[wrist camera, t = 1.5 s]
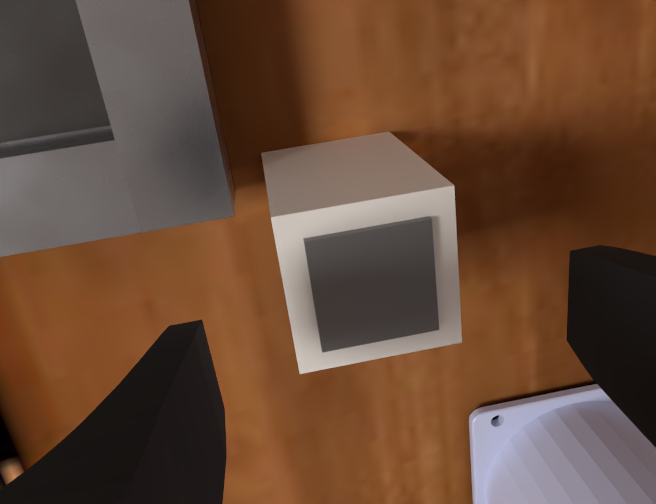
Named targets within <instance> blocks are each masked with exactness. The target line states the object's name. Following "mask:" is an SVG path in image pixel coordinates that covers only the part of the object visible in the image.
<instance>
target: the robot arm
mask: <svg viewBox="0 0 656 504" xmlns="http://www.w3.org/2000/svg"><path fill="white" fill-rule="evenodd" d="M567 341H568V343H569V344H570V346H571V348H572V349H573V351H574V352H575V354H576V355H577V357H578V358H579V360H580V361H581V363H582V364H583V366H584V367H585V369H586V370H587V371H588V373H589V374H590V376H591V377H592V378H593V380H594V381H595V382H596V383H597V384H593V385H588V386H583V387H578V388H573V389H569V390H564V391H559V392H554V393H549V394H544V395H539V396H534V397H529V398H525V399H520V400H515V401H510V402H505V403H500V404H495V405H490V406H485V407H481V408H478V409H476V410H475V411H473V412H472V414H471V415H470V418H469V431H470V453H471V474H472V495H473V504H656V256H652V255H648V254H644V253H640V252H635V251H631V250H626V249H621V248H616V247H610V246H601V245H599V246H594V247H588V248H583V249H578V250H572V251H570V263H569V291H568V319H567ZM497 415H499V417H498V418H497V419H495V420H492V419H493V417H495V416H497ZM225 467H226V430H225V409H224V405H223V401H222V397H221V393H220V389H219V385H218V381H217V377H216V373H215V369H214V365H213V361H212V357H211V353H210V350H209V346H208V342H207V338H206V334H205V330H204V326H203V322H202V320H198V321H193V322H187V323H182V324H177V325H171V326H169V327H168V328H167V329H166V330H165V331H164V332H163V333H162V334H161V335H160V337H159V338H158V339H157V340H156V341H155V343H154V344H153V345H152V346H151V347H150V349H149V350H148V351H147V352H146V353H145V355H144V356H143V357H142V358H141V359H140V361H139V362H138V363H137V364H136V365H135V366H134V367H133V369H132V370H131V371H130V372H129V373H128V374H127V376H126V377H125V378H124V379H123V380H122V381H121V382H120V384H119V385H118V386H117V387H116V388H115V389H114V390H113V391H112V392H111V393H110V394H109V395H108V396H107V397H106V398H105V399H104V400H103V401H102V402H101V403H100V404H99V405H98V406H97V408H96V409H95V410H94V411H93V412H92V413H91V414H90V415H89V416H88V417H87V418H86V419H85V420H84V421H83V422H82V423H81V424H80V425H79V426H78V427H77V428H76V429H74V430H73V431H72V432H71V433H70V434H69V435H68V436H67V437H66V438H65V439H63V440H62V441H61V442H60V443H59V444H58V445H57V446H55V447H54V448H53V449H52V450H51V451H49V452H48V453H47V454H46V455H45V456H44V457H42V458H41V459H40V460H39V461H38V462H36V463H35V464H34V465H33V466H31V467H30V468H29V469H28V470H26V471H25V472H24V473H22V474H21V475H20V476H18V477H17V478H16V479H14V480H13V481H12V482H10V483H9V484H7V485H6V486H5V487H3V488H2V489H1V490H0V504H222V501H223V490H224V479H225Z"/></svg>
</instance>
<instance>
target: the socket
mask: <svg viewBox="0 0 656 504" xmlns="http://www.w3.org/2000/svg"><path fill="white" fill-rule="evenodd" d="M234 204H235V188H234V184H233V179H232V174H231V169H230V164H229V159H228V155H227V150H226V145H225V140H224V135H223V130H222V126H221V121H220V116H219V111H218V106H217V101H216V96H215V92H214V87H213V82H212V77H211V72H210V67H209V63H208V58H207V53H206V48H205V43H204V38H203V34H202V29H201V24H200V19H199V14H198V9H197V5H196V0H0V257H2V256H8V255H14V254H20V253H25V252H31V251H37V250H43V249H49V248H54V247H60V246H66V245H72V244H77V243H83V242H89V241H95V240H100V239H106V238H112V237H118V236H124V235H129V234H135V233H141V232H147V231H152V230H158V229H164V228H170V227H175V226H181V225H187V224H193V223H198V222H204V221H210V220H216V219H222V218H227V217H233V216H234Z"/></svg>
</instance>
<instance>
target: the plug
mask: <svg viewBox="0 0 656 504" xmlns="http://www.w3.org/2000/svg"><path fill="white" fill-rule="evenodd" d="M261 156H262V162H263V169H264V175H265V182H266V189H267V195H268V202H269V208H270V215H271V221H272V226H273V232H274V237H275V242H276V248H277V253H278V259H279V264H280V270H281V275H282V280H283V286H284V291H285V297H286V302H287V307H288V313H289V318H290V324H291V329H292V335H293V340H294V345H295V351H296V356H297V362H298V367H299V373H300V374H302V373H308V372H313V371H318V370H323V369H328V368H333V367H338V366H343V365H349V364H354V363H359V362H364V361H369V360H374V359H379V358H384V357H389V356H395V355H400V354H405V353H410V352H415V351H420V350H425V349H430V348H436V347H441V346H446V345H451V344H456V343H461V342H462V332H461V311H460V291H459V271H458V250H457V230H456V209H455V189H454V185H453V184H452V183H451V182H450V181H448V180H447V179H446V178H445V177H444V176H442V175H441V174H440V173H439V172H438V171H436V170H435V169H434V168H433V167H431V166H430V165H429V164H428V163H427V162H425V161H424V160H423V159H422V158H421V157H419V156H418V155H417V154H416V153H415V152H413V151H412V150H411V149H410V148H408V147H407V146H406V145H405V144H404V143H402V142H401V141H400V140H399V139H398V138H396V137H395V136H394V135H393V134H392V133H390V132H384V133H377V134H371V135H365V136H359V137H353V138H347V139H341V140H335V141H329V142H323V143H317V144H311V145H305V146H299V147H293V148H287V149H281V150H275V151H269V152H263V153H261Z"/></svg>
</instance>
